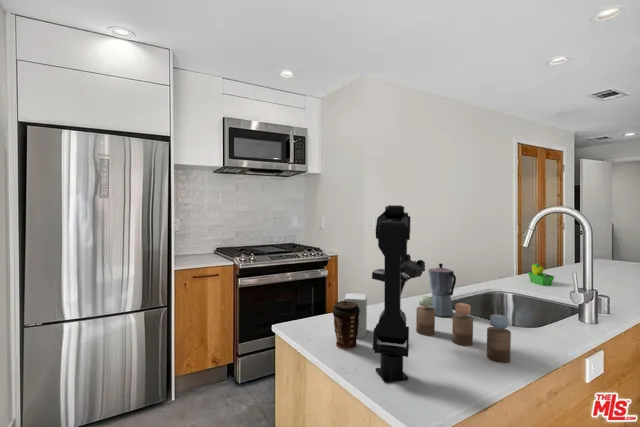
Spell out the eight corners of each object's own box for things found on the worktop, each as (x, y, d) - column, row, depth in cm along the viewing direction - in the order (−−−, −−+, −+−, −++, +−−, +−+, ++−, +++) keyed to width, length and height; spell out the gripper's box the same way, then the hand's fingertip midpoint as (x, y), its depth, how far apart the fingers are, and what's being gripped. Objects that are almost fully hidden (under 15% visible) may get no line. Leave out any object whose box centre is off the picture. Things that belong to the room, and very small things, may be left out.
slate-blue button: (511, 327, 95) (511, 319, 95) (497, 328, 94) (498, 320, 94) (499, 322, 99) (500, 314, 99) (486, 323, 98) (487, 315, 98)
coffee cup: (343, 337, 112) (343, 298, 111) (365, 344, 106) (365, 303, 106) (327, 346, 105) (327, 304, 104) (349, 353, 100) (349, 310, 99)
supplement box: (365, 338, 111) (365, 299, 111) (343, 336, 113) (343, 298, 112) (367, 329, 118) (367, 293, 118) (346, 328, 120) (346, 292, 120)
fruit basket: (555, 285, 181) (556, 264, 180) (540, 286, 180) (541, 265, 179) (538, 281, 192) (539, 261, 192) (524, 281, 191) (525, 261, 190)
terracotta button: (473, 314, 106) (473, 306, 106) (461, 315, 105) (461, 307, 105) (464, 310, 110) (464, 302, 110) (452, 310, 109) (452, 303, 109)
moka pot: (438, 307, 144) (439, 260, 143) (466, 318, 130) (467, 266, 129) (420, 309, 140) (420, 261, 140) (446, 322, 126) (447, 268, 125)
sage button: (435, 306, 114) (435, 299, 114) (423, 307, 113) (423, 299, 113) (428, 302, 119) (428, 295, 119) (416, 303, 118) (416, 296, 118)
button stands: (517, 356, 98) (518, 329, 98) (504, 365, 93) (505, 336, 93) (427, 326, 122) (427, 304, 122) (412, 331, 117) (412, 308, 117)
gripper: (399, 257, 98) (398, 310, 99) (436, 251, 110) (435, 299, 110) (370, 252, 107) (370, 301, 108) (408, 247, 118) (407, 292, 119)
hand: (397, 298), depth 111 cm, fingers closed
